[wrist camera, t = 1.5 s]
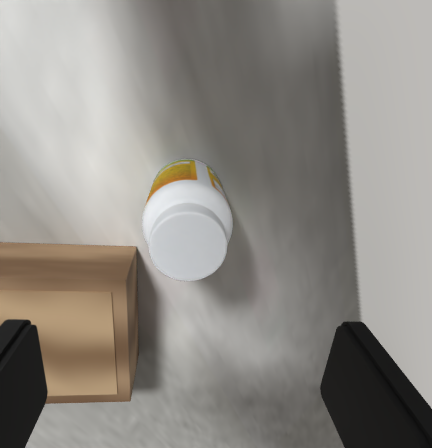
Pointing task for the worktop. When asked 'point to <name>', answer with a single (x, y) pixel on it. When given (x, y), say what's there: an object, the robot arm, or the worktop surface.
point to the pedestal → (76, 315)
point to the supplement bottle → (187, 221)
